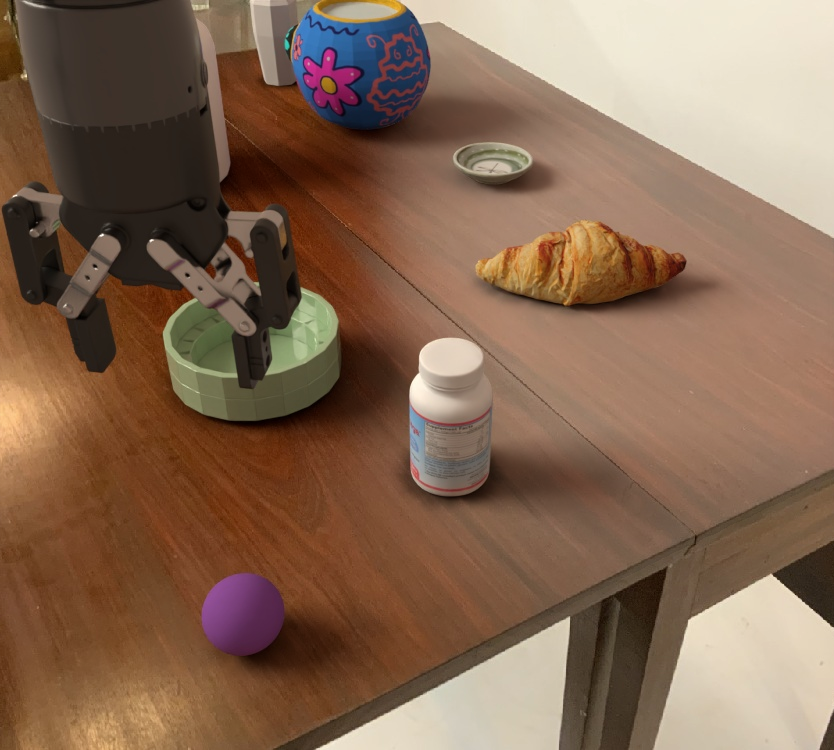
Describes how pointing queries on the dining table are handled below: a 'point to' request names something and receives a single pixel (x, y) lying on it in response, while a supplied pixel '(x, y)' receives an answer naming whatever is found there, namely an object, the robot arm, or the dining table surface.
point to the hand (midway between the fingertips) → (177, 372)
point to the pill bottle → (450, 418)
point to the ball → (243, 614)
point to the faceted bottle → (274, 38)
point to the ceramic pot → (360, 61)
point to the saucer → (492, 162)
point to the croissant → (581, 266)
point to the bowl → (286, 376)
